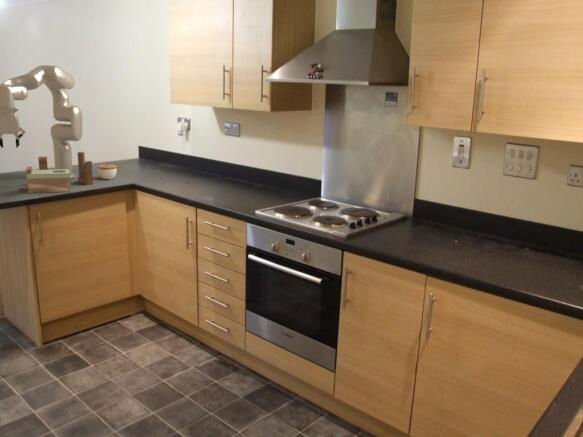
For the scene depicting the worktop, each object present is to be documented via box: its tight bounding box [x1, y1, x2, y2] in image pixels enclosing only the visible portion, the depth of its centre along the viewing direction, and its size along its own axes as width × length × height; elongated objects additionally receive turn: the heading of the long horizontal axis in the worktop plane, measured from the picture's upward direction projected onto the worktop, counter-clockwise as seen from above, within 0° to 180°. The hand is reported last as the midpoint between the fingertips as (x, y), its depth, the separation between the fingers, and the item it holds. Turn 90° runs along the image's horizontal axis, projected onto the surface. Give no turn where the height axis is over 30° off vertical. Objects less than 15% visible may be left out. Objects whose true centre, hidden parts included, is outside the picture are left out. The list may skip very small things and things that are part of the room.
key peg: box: [38, 156, 49, 170], centre depth 289 cm, size 4×4×16 cm
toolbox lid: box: [25, 166, 70, 180], centre depth 277 cm, size 12×20×4 cm, turn 113°
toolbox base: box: [26, 178, 71, 194], centre depth 279 cm, size 12×20×8 cm, turn 113°
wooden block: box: [77, 151, 94, 186], centre depth 297 cm, size 4×11×18 cm, turn 48°
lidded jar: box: [97, 162, 118, 180], centre depth 317 cm, size 11×11×9 cm
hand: (9, 146), depth 267 cm, fingers open, 6 cm apart
